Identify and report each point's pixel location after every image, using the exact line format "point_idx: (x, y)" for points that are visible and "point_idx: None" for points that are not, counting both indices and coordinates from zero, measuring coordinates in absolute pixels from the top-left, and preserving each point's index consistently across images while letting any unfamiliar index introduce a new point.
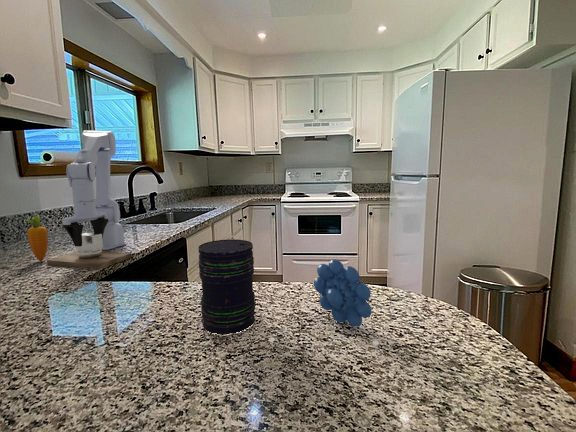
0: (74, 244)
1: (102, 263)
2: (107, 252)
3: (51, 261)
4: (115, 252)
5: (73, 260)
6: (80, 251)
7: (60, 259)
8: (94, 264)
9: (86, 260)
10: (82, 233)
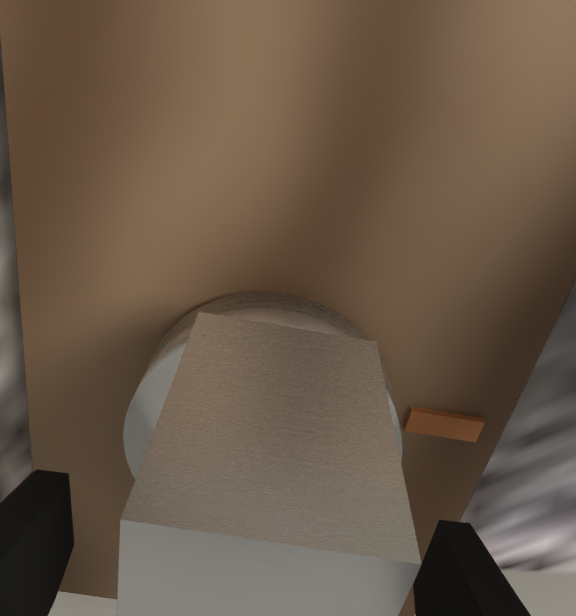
0: (14, 494)
1: (88, 590)
2: (443, 460)
3: (6, 3)
4: (432, 529)
5: (85, 324)
6: (150, 411)
7: (78, 115)
8: None
9: (117, 449)
10: (336, 564)
